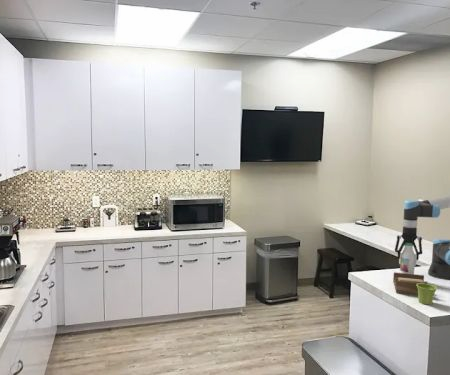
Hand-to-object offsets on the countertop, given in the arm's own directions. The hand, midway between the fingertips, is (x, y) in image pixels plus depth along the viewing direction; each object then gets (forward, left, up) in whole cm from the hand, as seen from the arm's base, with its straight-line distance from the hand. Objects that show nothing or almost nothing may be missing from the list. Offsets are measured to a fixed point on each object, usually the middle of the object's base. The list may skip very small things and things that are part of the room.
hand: (407, 264), depth 242 cm
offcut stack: (+23, 0, -10) cm, 25 cm away
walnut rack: (+17, 0, -10) cm, 20 cm away
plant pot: (+36, +5, -10) cm, 38 cm away
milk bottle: (0, 0, -7) cm, 7 cm away
